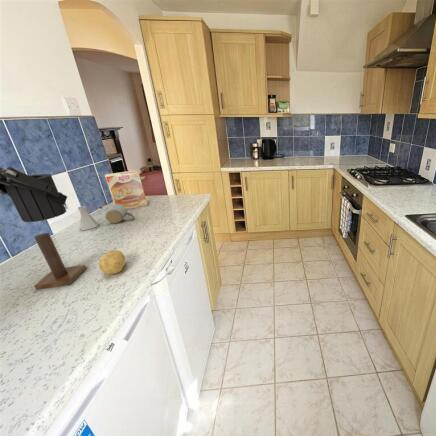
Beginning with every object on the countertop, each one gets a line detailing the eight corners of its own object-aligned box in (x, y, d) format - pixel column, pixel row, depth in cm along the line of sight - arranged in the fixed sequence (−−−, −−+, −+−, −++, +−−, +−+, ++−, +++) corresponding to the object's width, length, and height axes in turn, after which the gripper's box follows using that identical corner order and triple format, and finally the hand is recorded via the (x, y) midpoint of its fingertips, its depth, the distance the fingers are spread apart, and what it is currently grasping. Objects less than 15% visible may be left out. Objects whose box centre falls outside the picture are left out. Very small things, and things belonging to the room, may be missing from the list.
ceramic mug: (107, 225, 115) (102, 210, 112) (112, 218, 122) (107, 204, 119) (132, 221, 118) (128, 207, 115) (136, 215, 125) (132, 202, 122)
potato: (98, 282, 75) (91, 265, 73) (108, 263, 85) (102, 248, 82) (123, 276, 77) (117, 260, 75) (130, 259, 87) (125, 243, 84)
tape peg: (36, 289, 73) (10, 244, 66) (56, 272, 81) (35, 230, 75) (70, 285, 74) (48, 240, 68) (86, 268, 82) (68, 227, 76)
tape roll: (12, 222, 72) (-8, 182, 67) (46, 209, 81) (29, 174, 76) (44, 222, 71) (25, 182, 67) (74, 209, 80) (59, 173, 76)
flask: (98, 222, 118) (91, 203, 114) (99, 227, 113) (92, 207, 109) (80, 226, 114) (71, 207, 110) (80, 231, 109) (71, 211, 105)
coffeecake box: (117, 211, 131) (105, 176, 124) (115, 208, 136) (103, 174, 128) (148, 204, 141) (138, 171, 133) (144, 202, 145) (135, 169, 138)
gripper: (-98, 173, 56) (11, 211, 77) (-8, 171, 55) (78, 211, 75) (-79, 146, 59) (21, 190, 79) (7, 144, 57) (86, 189, 78)
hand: (49, 200), depth 77 cm, fingers closed on tape roll, 10 cm apart
